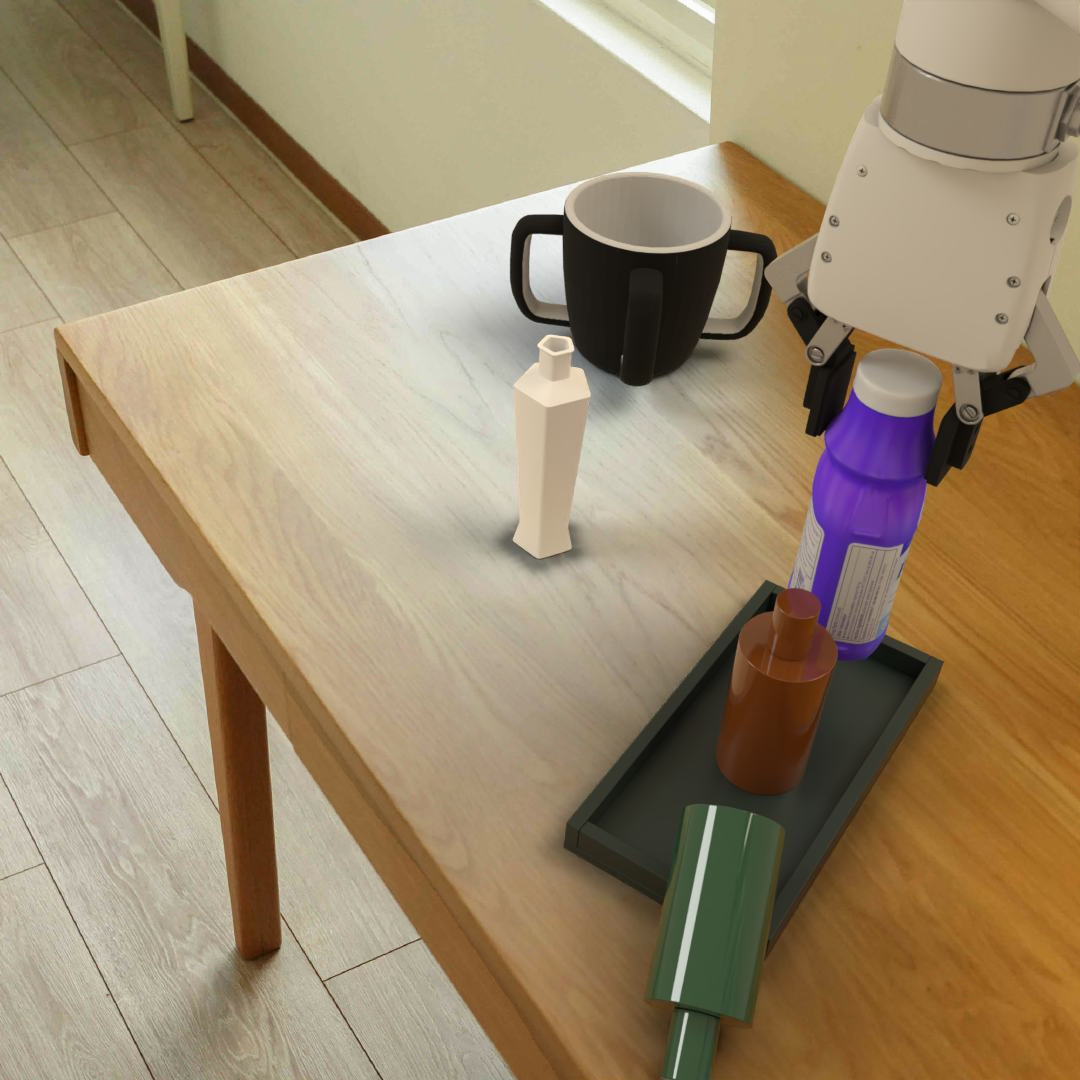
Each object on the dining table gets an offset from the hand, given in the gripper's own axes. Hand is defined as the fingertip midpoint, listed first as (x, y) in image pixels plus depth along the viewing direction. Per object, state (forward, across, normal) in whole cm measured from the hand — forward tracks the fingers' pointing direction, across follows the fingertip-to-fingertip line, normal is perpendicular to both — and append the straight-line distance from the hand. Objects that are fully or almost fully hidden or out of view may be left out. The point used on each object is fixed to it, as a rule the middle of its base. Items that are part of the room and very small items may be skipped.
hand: (881, 443), depth 67 cm
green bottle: (+12, -2, +16) cm, 20 cm away
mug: (+18, +27, -24) cm, 40 cm away
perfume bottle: (+18, +20, -1) cm, 27 cm away
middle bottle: (+17, 0, +7) cm, 19 cm away
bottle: (+13, 0, 0) cm, 13 cm away
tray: (+18, 0, +7) cm, 19 cm away
